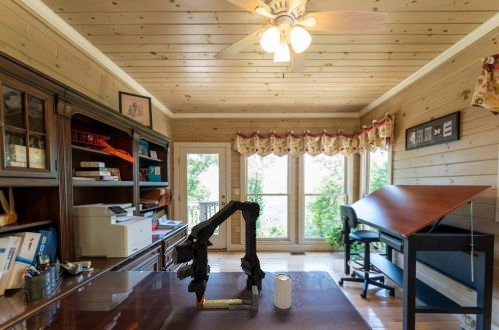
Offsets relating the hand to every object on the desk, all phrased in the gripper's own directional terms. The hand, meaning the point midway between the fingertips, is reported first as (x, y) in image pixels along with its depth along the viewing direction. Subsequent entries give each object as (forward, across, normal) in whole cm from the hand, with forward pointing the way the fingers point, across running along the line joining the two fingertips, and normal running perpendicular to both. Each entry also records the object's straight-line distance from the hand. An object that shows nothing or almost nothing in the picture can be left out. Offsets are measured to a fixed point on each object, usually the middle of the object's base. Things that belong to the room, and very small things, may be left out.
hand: (199, 299), depth 95 cm
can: (+4, 0, +32) cm, 32 cm away
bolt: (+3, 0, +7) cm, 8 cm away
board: (+4, 0, +12) cm, 12 cm away
